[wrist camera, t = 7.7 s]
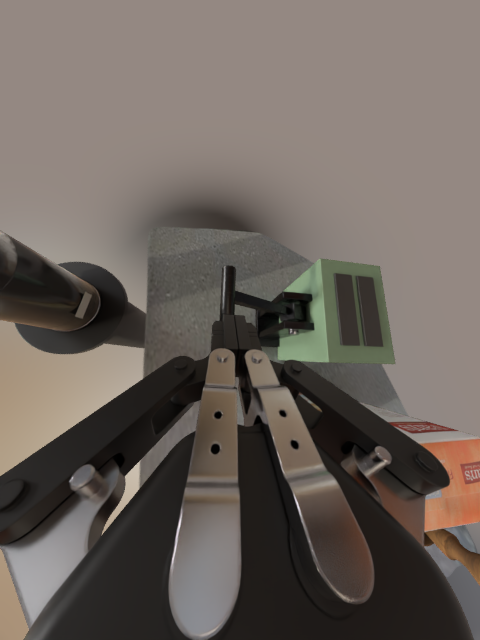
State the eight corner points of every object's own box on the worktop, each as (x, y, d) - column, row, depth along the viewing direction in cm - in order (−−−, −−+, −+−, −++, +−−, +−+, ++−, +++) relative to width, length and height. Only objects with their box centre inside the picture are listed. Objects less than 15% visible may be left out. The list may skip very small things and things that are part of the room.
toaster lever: (214, 324, 18) (227, 321, 16) (217, 270, 19) (229, 261, 17) (292, 336, 25) (307, 335, 24) (291, 297, 27) (305, 293, 25)
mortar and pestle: (335, 486, 31) (497, 653, 14) (340, 446, 32) (490, 549, 15) (368, 493, 32) (561, 660, 14) (370, 453, 33) (547, 560, 16)
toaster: (277, 359, 34) (330, 362, 19) (276, 297, 37) (321, 256, 22) (319, 360, 35) (398, 364, 20) (315, 300, 38) (382, 264, 23)
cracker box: (323, 389, 34) (487, 435, 14) (326, 422, 33) (510, 527, 13) (255, 390, 32) (333, 447, 12) (255, 426, 31) (342, 559, 10)
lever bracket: (255, 346, 34) (282, 340, 21) (255, 306, 35) (280, 280, 23) (279, 347, 34) (318, 342, 22) (278, 308, 36) (314, 283, 24)
